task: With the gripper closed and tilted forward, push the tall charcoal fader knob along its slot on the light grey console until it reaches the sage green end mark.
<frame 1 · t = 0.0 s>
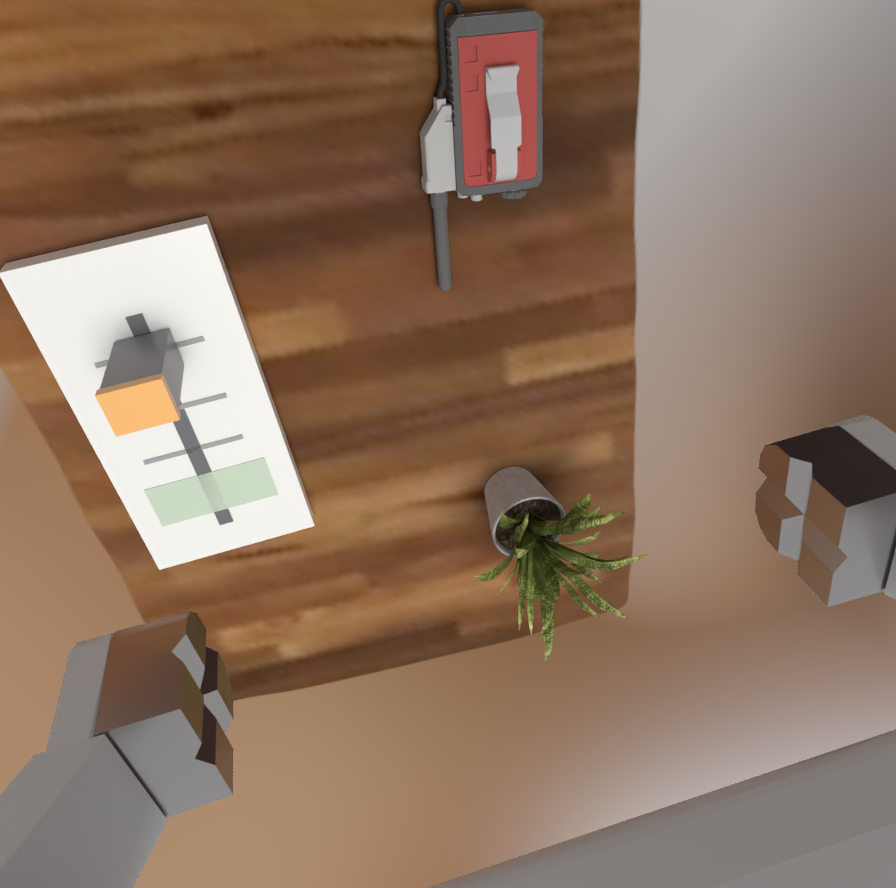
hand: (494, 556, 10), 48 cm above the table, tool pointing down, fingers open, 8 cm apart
red and grey tool: (475, 149, 55), on the table
console: (181, 405, 60), on the table
house plant: (513, 496, 74), on the table
fader knob: (144, 379, 52), point 6 cm above the table, slide at 0.0 cm
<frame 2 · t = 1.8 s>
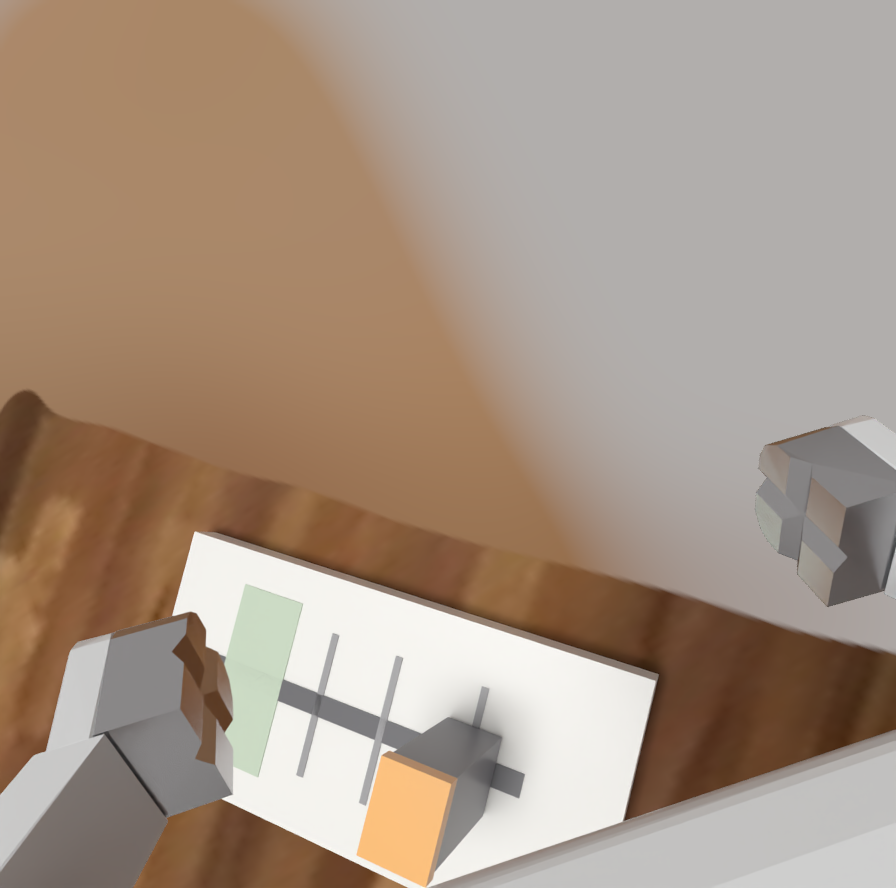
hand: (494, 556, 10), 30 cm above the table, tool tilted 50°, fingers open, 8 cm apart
console: (380, 715, 42), on the table
fader knob: (437, 789, 34), point 6 cm above the table, slide at 0.0 cm
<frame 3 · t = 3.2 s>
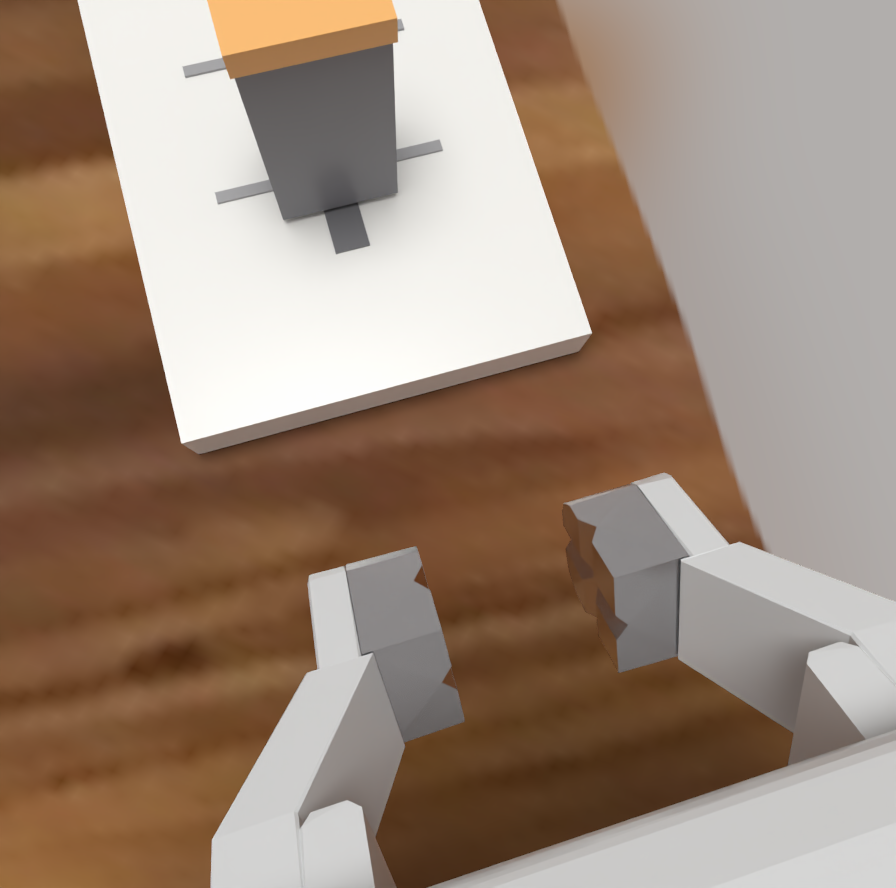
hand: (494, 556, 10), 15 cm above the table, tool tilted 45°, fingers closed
console: (296, 63, 29), on the table
fader knob: (315, 90, 22), point 6 cm above the table, slide at 0.0 cm
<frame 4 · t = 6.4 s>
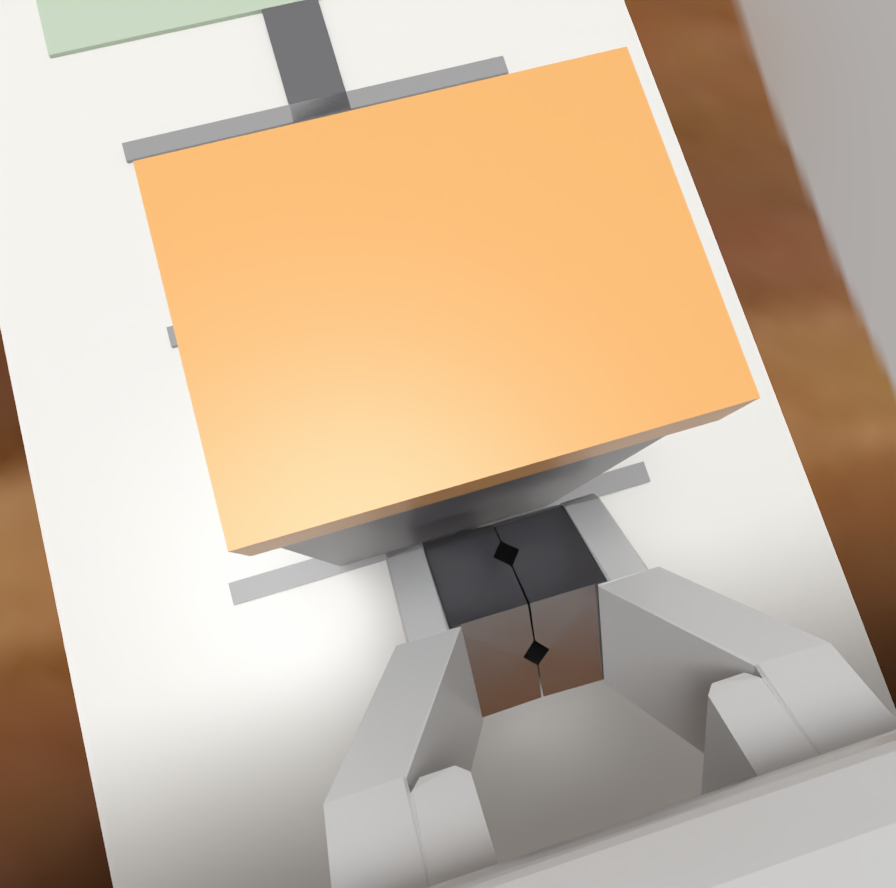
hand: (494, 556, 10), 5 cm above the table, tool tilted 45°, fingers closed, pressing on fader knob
console: (365, 281, 17), on the table
fader knob: (429, 403, 10), point 6 cm above the table, slide at 1.4 cm, touching gripper
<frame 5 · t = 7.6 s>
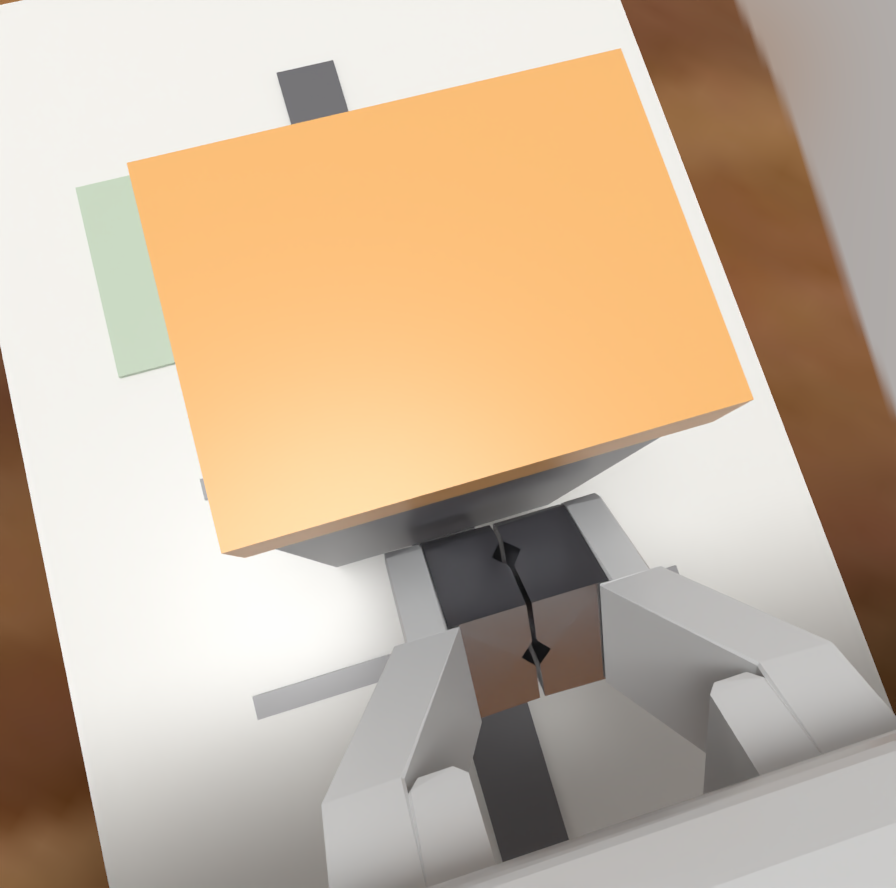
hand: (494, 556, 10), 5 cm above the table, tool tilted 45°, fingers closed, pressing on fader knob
console: (451, 586, 16), on the table
fader knob: (425, 404, 10), point 6 cm above the table, slide at 8.4 cm, touching gripper
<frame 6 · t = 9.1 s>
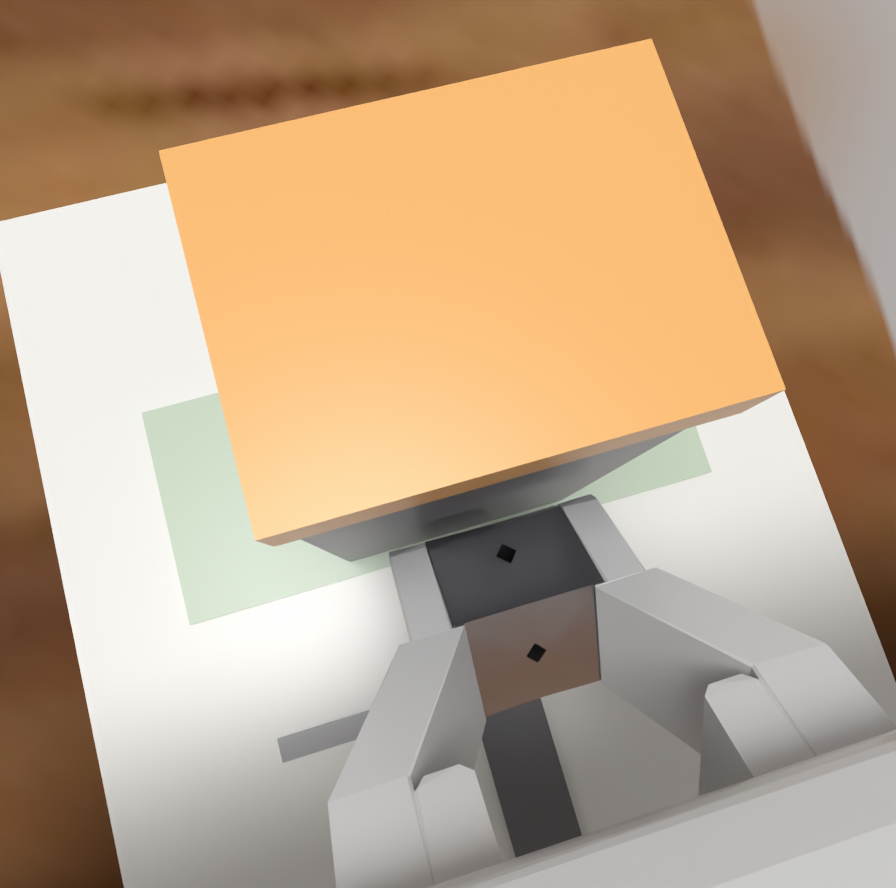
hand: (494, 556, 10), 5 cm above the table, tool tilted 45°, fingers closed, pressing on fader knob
console: (532, 819, 15), on the table
fader knob: (444, 397, 10), point 6 cm above the table, slide at 13.3 cm, touching gripper
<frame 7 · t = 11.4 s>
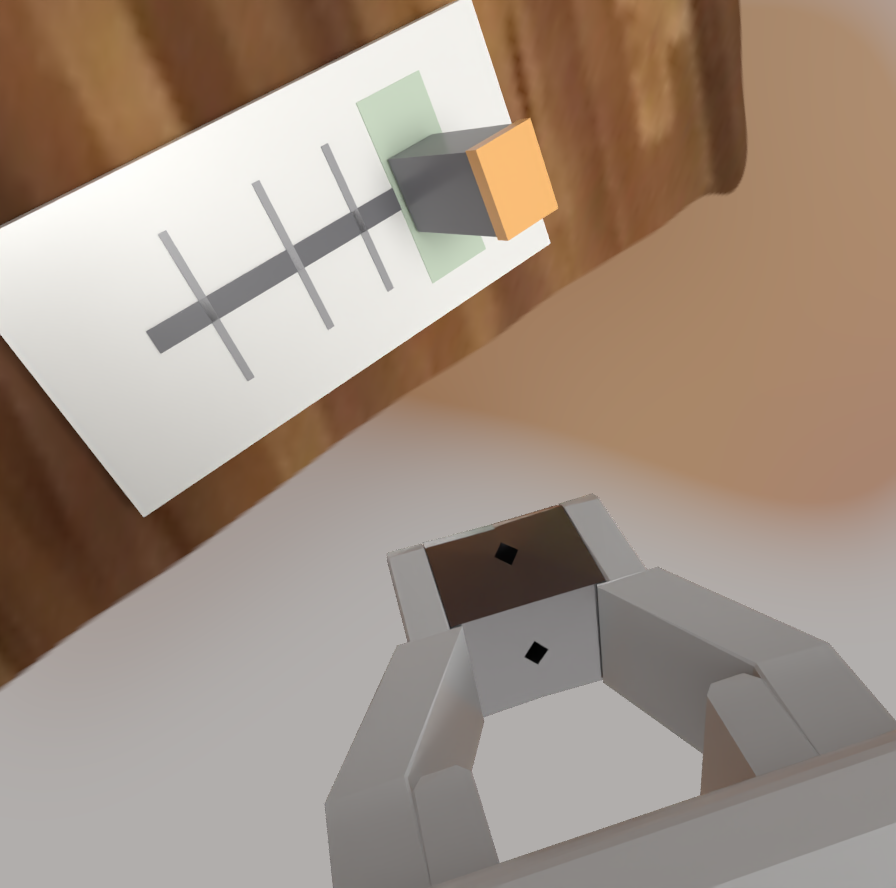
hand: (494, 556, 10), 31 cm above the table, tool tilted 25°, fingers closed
console: (296, 247, 39), on the table
fader knob: (467, 182, 37), point 6 cm above the table, slide at 13.3 cm
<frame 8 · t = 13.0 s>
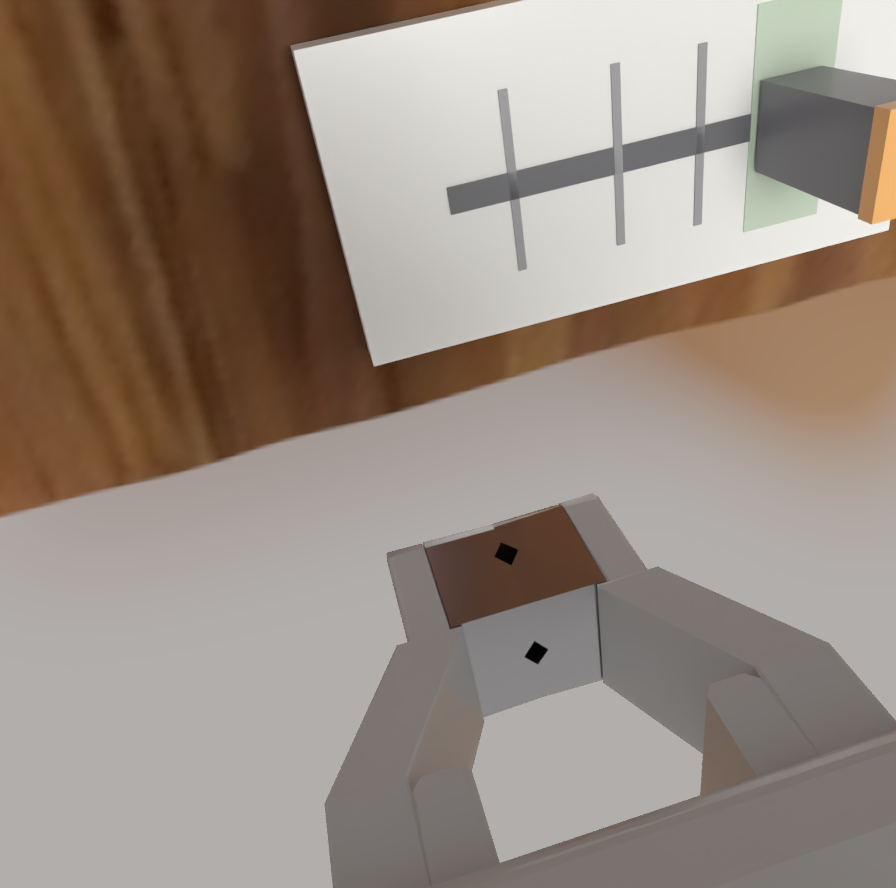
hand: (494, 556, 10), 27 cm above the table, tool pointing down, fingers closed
console: (619, 145, 36), on the table
fader knob: (846, 137, 31), point 6 cm above the table, slide at 13.3 cm
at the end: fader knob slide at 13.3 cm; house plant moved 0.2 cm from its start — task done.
